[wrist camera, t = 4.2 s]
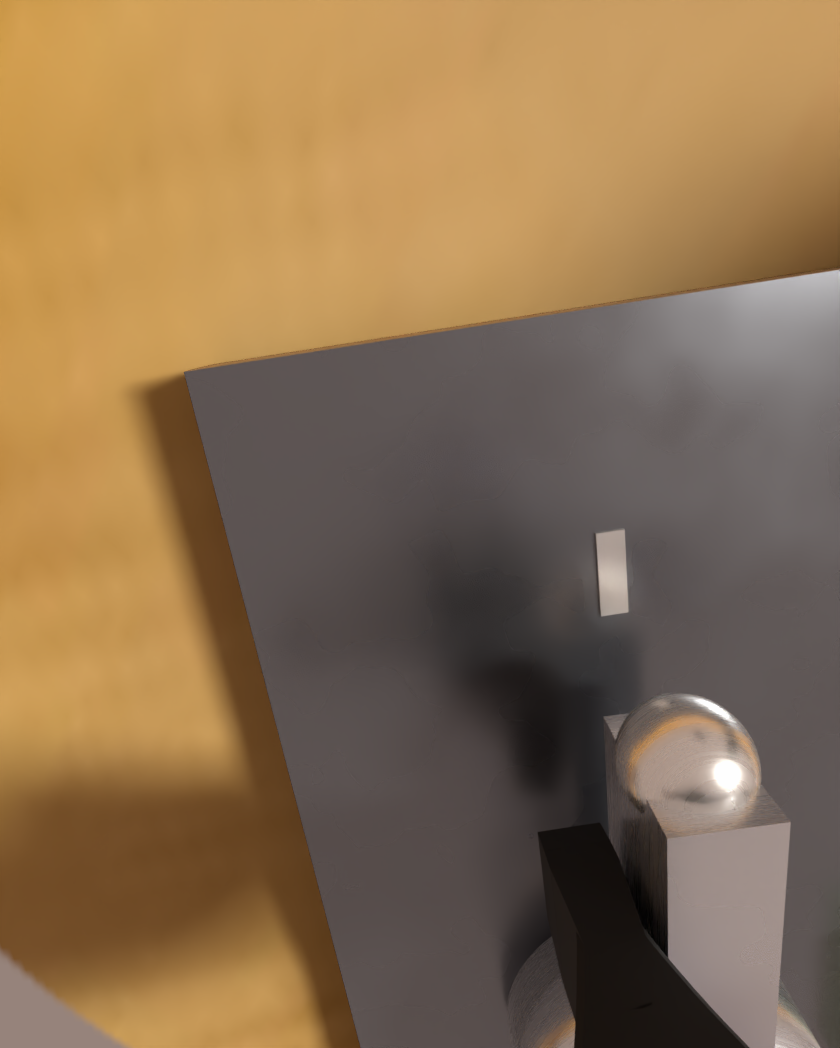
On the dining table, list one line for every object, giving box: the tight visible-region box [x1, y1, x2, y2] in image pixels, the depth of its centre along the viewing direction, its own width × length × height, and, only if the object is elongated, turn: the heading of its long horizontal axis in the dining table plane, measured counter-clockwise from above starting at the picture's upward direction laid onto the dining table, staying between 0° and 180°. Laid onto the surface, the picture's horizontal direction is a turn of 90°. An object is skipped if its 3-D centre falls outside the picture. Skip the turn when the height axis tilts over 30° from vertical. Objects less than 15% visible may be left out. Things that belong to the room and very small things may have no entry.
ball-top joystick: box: [507, 693, 821, 1048], centre depth 11 cm, size 12×6×4 cm, turn 8°
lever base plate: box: [184, 267, 840, 1048], centre depth 13 cm, size 20×15×2 cm
